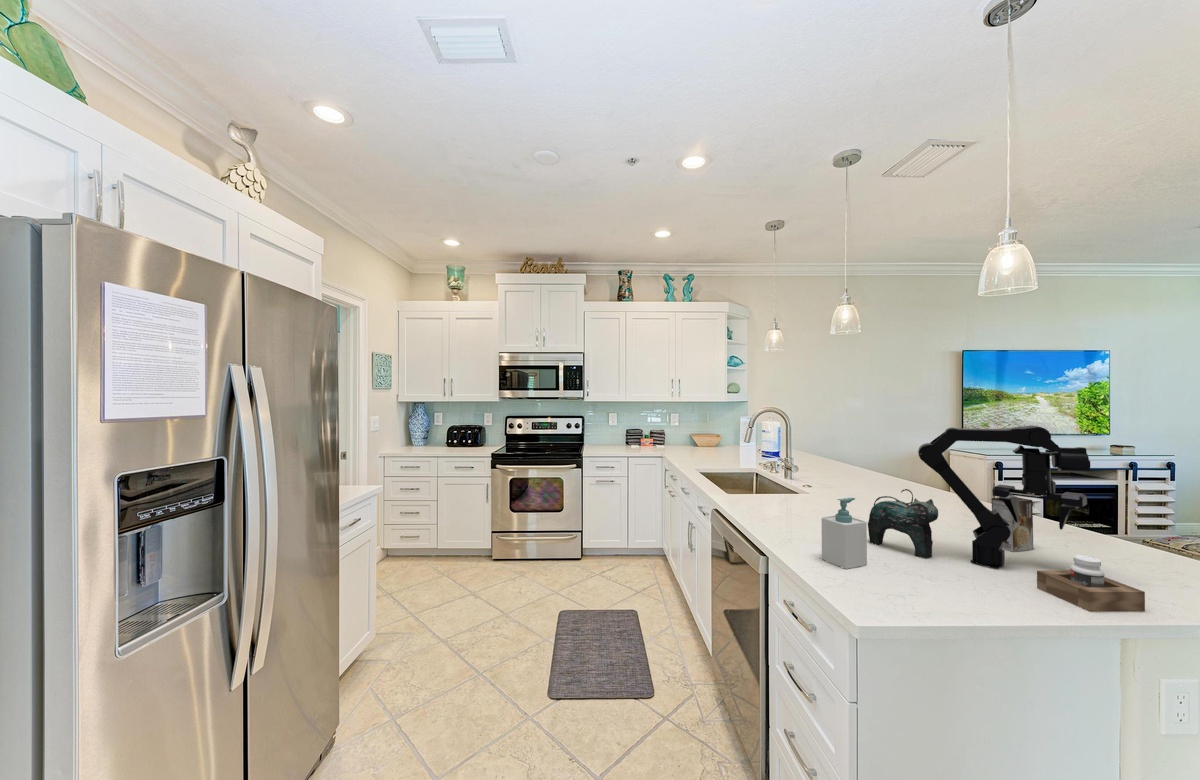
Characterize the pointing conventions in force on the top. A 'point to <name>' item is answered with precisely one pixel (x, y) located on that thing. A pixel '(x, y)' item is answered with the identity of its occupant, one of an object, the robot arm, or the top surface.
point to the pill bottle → (1087, 571)
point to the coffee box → (1017, 524)
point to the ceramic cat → (904, 522)
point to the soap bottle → (844, 538)
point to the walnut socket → (1091, 592)
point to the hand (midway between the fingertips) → (1038, 525)
